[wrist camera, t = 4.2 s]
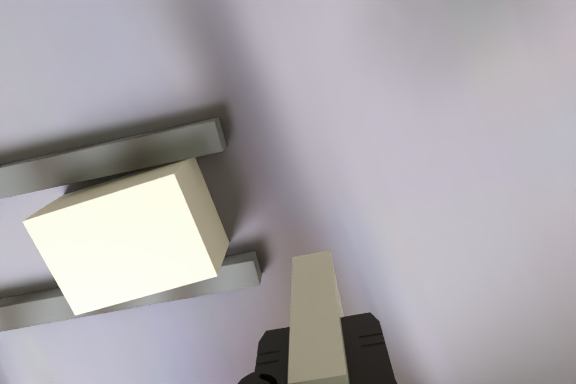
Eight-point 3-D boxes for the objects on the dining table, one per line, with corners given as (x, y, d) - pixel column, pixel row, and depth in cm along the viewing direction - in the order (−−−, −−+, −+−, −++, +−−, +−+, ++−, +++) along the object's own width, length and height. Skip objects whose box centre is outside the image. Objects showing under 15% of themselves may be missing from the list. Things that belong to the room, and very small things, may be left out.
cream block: (194, 152, 30) (174, 173, 25) (229, 241, 32) (217, 276, 27) (65, 193, 31) (22, 221, 26) (107, 276, 33) (75, 315, 28)
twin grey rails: (218, 116, 28) (214, 121, 27) (261, 274, 32) (260, 285, 31) (-80, 182, 31) (-98, 189, 29) (-7, 323, 34) (-20, 335, 33)
